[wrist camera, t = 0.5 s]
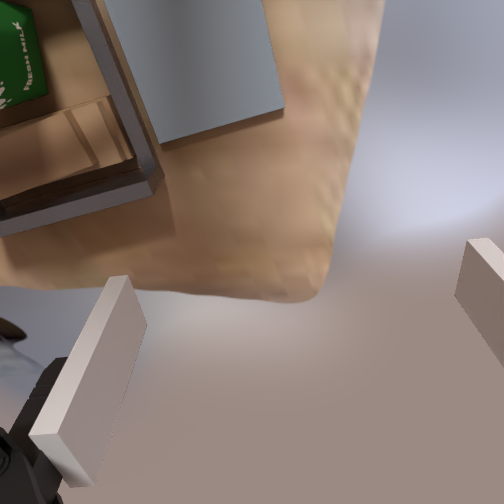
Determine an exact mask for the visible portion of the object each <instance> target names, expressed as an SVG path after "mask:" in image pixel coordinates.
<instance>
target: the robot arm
mask: <svg viewBox="0 0 504 504" xmlns="http://www.w3.org/2000/svg"><path fill="white" fill-rule="evenodd" d="M455 297H456V299H457V300H458V302H459V303H460V305H461V306H462V308H463V309H464V310H465V312H466V313H467V315H468V316H469V318H470V319H471V321H472V322H473V324H474V325H475V327H476V328H477V329H478V331H479V332H480V334H481V335H482V337H483V338H484V340H485V341H486V343H487V344H488V345H489V347H490V348H491V349H492V351H493V353H494V354H495V356H496V357H497V359H498V360H499V361H500V363H501V364H502V366H503V367H504V254H503V252H502V251H501V250H500V249H499V248H498V247H497V246H496V245H495V244H494V243H493V242H492V241H491V240H490V239H489V238H482V239H472V240H467V242H466V247H465V251H464V256H463V260H462V265H461V269H460V273H459V278H458V283H457V287H456V291H455ZM146 326H147V323H146V320H145V318H144V315H143V312H142V310H141V307H140V305H139V302H138V300H137V297H136V294H135V292H134V289H133V286H132V284H131V281H130V279H129V276H128V275H121V276H111V277H109V279H108V281H107V283H106V285H105V286H104V288H103V290H102V293H101V294H100V296H99V298H98V300H97V302H96V304H95V306H94V308H93V310H92V312H91V314H90V316H89V318H88V320H87V322H86V324H85V326H84V327H83V329H82V331H81V333H80V336H79V337H78V339H77V341H76V343H75V345H74V347H73V349H72V351H71V353H70V355H69V357H62V358H56V359H55V360H54V361H53V362H52V363H51V364H50V365H49V366H48V367H47V368H46V369H45V370H44V371H43V373H42V374H41V376H40V378H39V380H38V382H37V383H36V387H35V388H34V389H33V390H32V392H31V394H30V396H29V399H28V400H27V401H26V403H25V405H24V407H23V409H22V410H21V412H20V414H19V416H18V417H17V419H16V421H15V423H14V424H13V426H12V428H11V430H10V432H9V433H7V432H6V431H5V430H4V429H3V428H1V427H0V504H63V501H62V498H61V496H60V495H59V494H58V492H57V491H58V488H59V486H60V483H61V480H62V478H63V479H64V481H65V482H66V483H67V484H68V486H69V487H70V488H74V487H88V486H95V485H96V482H97V479H98V476H99V473H100V470H101V467H102V464H103V461H104V457H105V454H106V451H107V448H108V445H109V442H110V439H111V435H112V433H113V429H114V426H115V423H116V420H117V417H118V414H119V411H120V408H121V404H122V401H123V398H124V395H125V392H126V389H127V386H128V383H129V379H130V376H131V373H132V370H133V367H134V364H135V361H136V358H137V355H138V351H139V348H140V345H141V342H142V339H143V336H144V332H145V329H146Z"/></svg>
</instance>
